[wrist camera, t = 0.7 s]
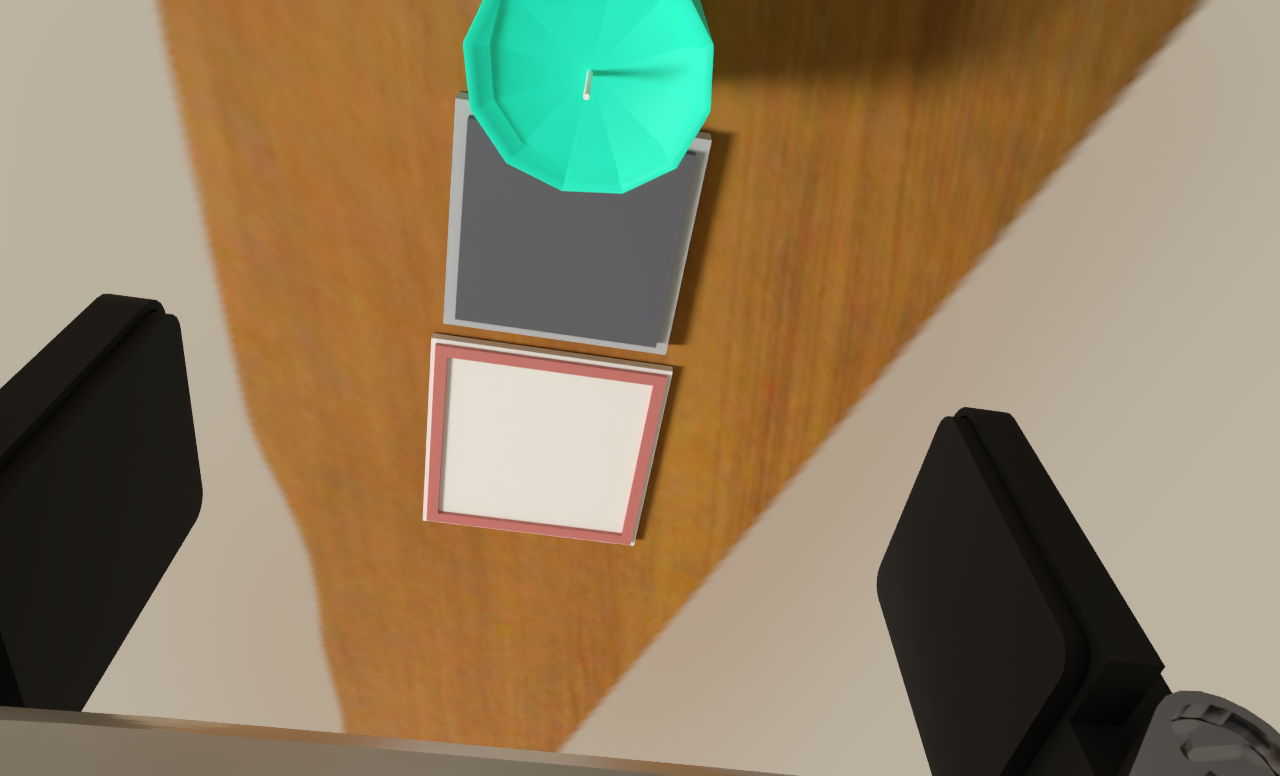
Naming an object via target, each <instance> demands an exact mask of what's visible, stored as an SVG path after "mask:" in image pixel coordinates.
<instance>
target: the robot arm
mask: <svg viewBox="0 0 1280 776" xmlns="http://www.w3.org/2000/svg"><path fill="white" fill-rule="evenodd" d="M202 497H203V489H202V481H201V474H200V467H199V460H198V452H197V445H196V438H195V430H194V423H193V416H192V409H191V401H190V394H189V386H188V379H187V371H186V365H185V357H184V350H183V342H182V335H181V328H180V324H179V321H178V319H177V317H176V316H174V315H172V314H165V310H164V308H163V306H162V304H161V303H160V302H158V301H157V300H151V299H144V298H137V297H129V296H122V295H113V294H102V295H101V296H99V297H98V298H96V299H95V300H94V301H93V302H92V303H91V304H90V305H89V306H88V307H87V308H86V309H85V310H84V311H83V312H82V313H81V314H79V315H78V316H77V317H76V318H75V319H74V320H73V321H72V322H71V323H70V324H69V325H68V326H67V327H66V328H64V329H63V330H62V331H61V332H60V333H59V334H58V335H57V336H56V337H55V338H54V339H53V340H52V341H51V342H50V343H48V344H47V345H46V346H45V347H44V348H43V349H42V350H41V351H40V352H39V353H38V354H37V355H36V356H35V357H34V358H33V359H32V360H30V361H29V362H28V363H27V364H26V365H25V366H24V367H23V368H22V369H21V370H20V371H19V372H18V373H17V374H15V375H14V376H13V377H12V378H11V379H10V380H9V381H8V382H7V383H6V384H5V385H4V386H3V387H2V388H1V389H0V776H795V775H784V774H775V773H764V772H754V771H744V770H734V769H724V768H714V767H703V766H693V765H682V764H671V763H661V762H651V761H639V760H629V759H618V758H608V757H597V756H586V755H575V754H565V753H554V752H543V751H532V750H521V749H510V748H499V747H489V746H478V745H467V744H456V743H445V742H434V741H423V740H412V739H401V738H389V737H378V736H366V735H355V734H343V733H331V732H320V731H308V730H297V729H286V728H274V727H261V726H251V725H240V724H228V723H217V722H205V721H193V720H182V719H169V718H159V717H145V716H132V715H118V714H104V713H90V712H81V711H82V709H83V708H84V706H85V704H86V703H87V701H88V699H89V698H90V696H91V694H92V692H93V691H94V689H95V688H96V686H97V684H98V683H99V681H100V680H101V678H102V676H103V675H104V673H105V671H106V670H107V668H108V666H109V664H110V663H111V661H112V659H113V658H114V656H115V655H116V653H117V651H118V650H119V648H120V646H121V645H122V643H123V641H124V640H125V638H126V636H127V634H128V633H129V631H130V629H131V628H132V626H133V625H134V623H135V621H136V620H137V618H138V616H139V615H140V613H141V611H142V610H143V608H144V606H145V605H146V603H147V602H148V600H149V598H150V597H151V595H152V593H153V591H154V590H155V588H156V587H157V585H158V583H159V581H160V580H161V578H162V577H163V575H164V573H165V572H166V570H167V568H168V566H169V565H170V563H171V562H172V560H173V558H174V556H175V555H176V553H177V552H178V550H179V548H180V547H181V545H182V543H183V542H184V540H185V538H186V536H187V535H188V533H189V532H190V530H191V528H192V527H193V525H194V523H195V522H196V520H197V518H198V515H199V512H200V509H201V504H202ZM877 594H878V598H879V602H880V605H881V608H882V611H883V615H884V618H885V621H886V625H887V628H888V631H889V635H890V637H891V641H892V645H893V648H894V651H895V654H896V658H897V661H898V664H899V668H900V671H901V674H902V677H903V681H904V684H905V687H906V691H907V694H908V697H909V701H910V704H911V707H912V710H913V714H914V717H915V720H916V723H917V727H918V730H919V733H920V737H921V740H922V743H923V747H924V750H925V753H926V757H927V760H928V763H929V766H930V769H931V773H932V776H1280V734H1279V733H1278V732H1277V731H1276V730H1275V729H1274V728H1273V727H1272V726H1271V725H1269V724H1268V723H1266V722H1265V721H1263V720H1262V719H1260V718H1259V717H1258V716H1256V715H1255V714H1253V713H1252V712H1250V711H1248V710H1247V709H1245V708H1243V707H1241V706H1239V705H1237V704H1235V703H1233V702H1231V701H1228V700H1227V699H1225V698H1222V697H1219V696H1215V695H1212V694H1208V693H1204V692H1201V691H1179V692H1175V693H1173V694H1172V692H1171V691H1170V689H1169V687H1168V686H1167V684H1166V682H1165V681H1164V679H1163V677H1162V675H1161V674H1160V673H1161V672H1162V670H1163V669H1164V668H1165V666H1164V664H1163V662H1162V661H1161V659H1160V657H1159V656H1158V654H1157V652H1156V651H1155V649H1154V647H1153V646H1152V644H1151V643H1150V641H1149V639H1148V638H1147V636H1146V634H1145V633H1144V631H1143V629H1142V628H1141V626H1140V625H1139V623H1138V621H1137V620H1136V618H1135V616H1134V615H1133V613H1132V612H1131V610H1130V608H1129V606H1128V605H1127V603H1126V601H1125V600H1124V598H1123V596H1122V595H1121V593H1120V592H1119V590H1118V588H1117V587H1116V585H1115V584H1114V582H1113V580H1112V578H1111V577H1110V575H1109V573H1108V572H1107V570H1106V569H1105V567H1104V565H1103V564H1102V562H1101V560H1100V559H1099V557H1098V555H1097V554H1096V552H1095V550H1094V549H1093V547H1092V545H1091V544H1090V542H1089V541H1088V539H1087V537H1086V536H1085V534H1084V533H1083V531H1082V529H1081V527H1080V526H1079V524H1078V522H1077V521H1076V519H1075V518H1074V516H1073V514H1072V513H1071V511H1070V509H1069V508H1068V506H1067V504H1066V503H1065V501H1064V499H1063V498H1062V496H1061V495H1060V493H1059V491H1058V490H1057V488H1056V486H1055V485H1054V483H1053V481H1052V480H1051V478H1050V476H1049V475H1048V473H1047V472H1046V470H1045V468H1044V467H1043V465H1042V463H1041V462H1040V460H1039V458H1038V457H1037V455H1036V453H1035V452H1034V450H1033V449H1032V447H1031V445H1030V444H1029V442H1028V440H1027V439H1026V437H1025V435H1024V434H1023V432H1022V430H1021V429H1020V427H1019V426H1018V424H1017V422H1016V421H1015V419H1014V418H1013V417H1012V415H1011V414H1009V413H1005V412H998V411H990V410H983V409H976V408H968V407H964V408H961V409H960V410H959V411H958V412H957V413H956V414H955V416H954V417H949V416H947V417H945V418H944V419H943V420H942V421H941V422H940V424H939V426H938V428H937V431H936V433H935V435H934V438H933V440H932V443H931V445H930V448H929V450H928V452H927V455H926V457H925V459H924V462H923V464H922V467H921V469H920V471H919V474H918V476H917V478H916V481H915V483H914V486H913V488H912V490H911V493H910V495H909V498H908V500H907V502H906V505H905V507H904V510H903V512H902V514H901V517H900V519H899V522H898V524H897V527H896V529H895V531H894V534H893V536H892V539H891V541H890V543H889V546H888V548H887V551H886V553H885V555H884V558H883V560H882V562H881V565H880V568H879V571H878V576H877Z"/></svg>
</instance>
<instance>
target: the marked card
mask: <svg viewBox="0 0 1280 776" xmlns="http://www.w3.org/2000/svg"><path fill="white" fill-rule="evenodd" d="M672 373H673V367H672V366H665V365H657V364H650V363H643V362H636V361H629V360H622V359H615V358H608V357H601V356H593V355H586V354H579V353H572V352H565V351H558V350H551V349H544V348H537V347H530V346H522V345H515V344H508V343H501V342H494V341H487V340H480V339H473V338H466V337H458V336H451V335H444V334H437V333H433V335H432V338H431V358H430V379H429V400H428V421H427V442H426V464H425V485H424V506H423V520H426V521H434V522H442V523H450V524H459V525H467V526H475V527H483V528H492V529H500V530H508V531H516V532H525V533H533V534H541V535H549V536H558V537H566V538H574V539H583V540H591V541H599V542H607V543H616V544H624V545H632V546H634V543H635V539H636V534H637V530H638V525H639V521H640V516H641V512H642V507H643V503H644V498H645V494H646V489H647V485H648V481H649V476H650V472H651V467H652V463H653V458H654V454H655V449H656V445H657V440H658V436H659V431H660V427H661V422H662V418H663V413H664V409H665V404H666V400H667V395H668V391H669V386H670V382H671V378H672Z"/></svg>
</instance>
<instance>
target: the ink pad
mask: <svg viewBox="0 0 1280 776" xmlns="http://www.w3.org/2000/svg"><path fill="white" fill-rule="evenodd" d="M711 142H712V139H711V134H710V133H706V132H700V131H699V132H698V133H697V135H696V137H695V138H694V140H693V142H692V143H691V145H690V147H689V148H688V150H687V152H686V153H685V155H684V157H683V158H682V160H681V162H680V163H679V165H678V167H677V168H676V169H674V170H672V171H670V172H668V173H665V174H663V175H661V176H659V177H657V178H655V179H653V180H651V181H648V182H646V183H644V184H642V185H640V186H638V187H636V188H634V189H632V190H629V191H627V192H625V193H623V194H617V193H595V192H572V191H561V190H559V189H557V188H555V187H553V186H551V185H549V184H547V183H545V182H543V181H541V180H539V179H537V178H535V177H533V176H531V175H529V174H527V173H525V172H523V171H521V170H519V169H517V168H515V167H513V166H511V165H509V164H507V163H506V162H505V160H504V159H503V157H502V156H501V154H500V153H499V151H498V150H497V148H496V147H495V145H494V144H493V143H492V141H491V140H490V138H489V137H488V135H487V134H486V132H485V131H484V129H483V128H482V126H481V125H480V123H479V122H478V120H477V119H476V118H475V116H474V115H473V113H472V112H471V110H470V105H469V96H468V93H465V92H459V93H458V95H457V97H456V101H455V119H454V138H453V156H452V174H451V192H450V210H449V228H448V246H447V264H446V283H445V301H444V319H443V323H444V324H451V325H458V326H465V327H472V328H479V329H486V330H494V331H501V332H508V333H515V334H522V335H529V336H536V337H543V338H550V339H557V340H564V341H571V342H578V343H585V344H592V345H599V346H606V347H613V348H620V349H627V350H634V351H642V352H649V353H656V354H663V355H666V351H667V346H668V342H669V337H670V332H671V328H672V323H673V318H674V314H675V309H676V304H677V300H678V295H679V291H680V286H681V281H682V277H683V272H684V267H685V263H686V258H687V253H688V249H689V244H690V239H691V235H692V230H693V226H694V221H695V216H696V212H697V207H698V202H699V198H700V193H701V188H702V184H703V179H704V174H705V170H706V165H707V161H708V156H709V151H710V147H711Z"/></svg>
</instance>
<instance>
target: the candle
mask: <svg viewBox="0 0 1280 776" xmlns="http://www.w3.org/2000/svg"><path fill="white" fill-rule="evenodd" d="M463 50H464V59H465V68H466V77H467V87H468V96H469V105H470V110H471V112H472V113H473V115H474V116H475V118H476V119H477V120H478V122H479V123H480V125H481V126H482V128H483V129H484V131H485V132H486V134H487V135H488V137H489V138H490V140H491V141H492V143H493V144H494V145H495V147H496V148H497V150H498V151H499V153H500V154H501V156H502V157H503V159H504V160H505V162H506V163H507V164H509V165H511V166H513V167H515V168H517V169H519V170H521V171H523V172H525V173H527V174H529V175H531V176H533V177H535V178H537V179H539V180H541V181H543V182H545V183H547V184H549V185H551V186H553V187H555V188H557V189H559V190H561V191H572V192H595V193H617V194H623V193H625V192H627V191H629V190H632V189H634V188H636V187H638V186H640V185H642V184H644V183H646V182H648V181H651V180H653V179H655V178H657V177H659V176H661V175H663V174H665V173H668V172H670V171H672V170H674V169H676V168H677V167H678V165H679V163H680V162H681V160H682V158H683V157H684V155H685V153H686V152H687V150H688V148H689V147H690V145H691V143H692V142H693V140H694V138H695V137H696V135H697V133H698V132H699V130H700V128H701V127H702V125H703V123H704V122H705V120H706V118H707V117H708V115H709V113H710V109H711V90H712V72H713V53H714V44H713V41H712V37H711V34H710V31H709V27H708V24H707V21H706V17H705V14H704V11H703V8H702V4H701V1H700V0H483V1H482V4H481V6H480V8H479V10H478V12H477V14H476V16H475V18H474V21H473V23H472V25H471V27H470V29H469V31H468V33H467V35H466V38H465V40H464V42H463Z"/></svg>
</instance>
